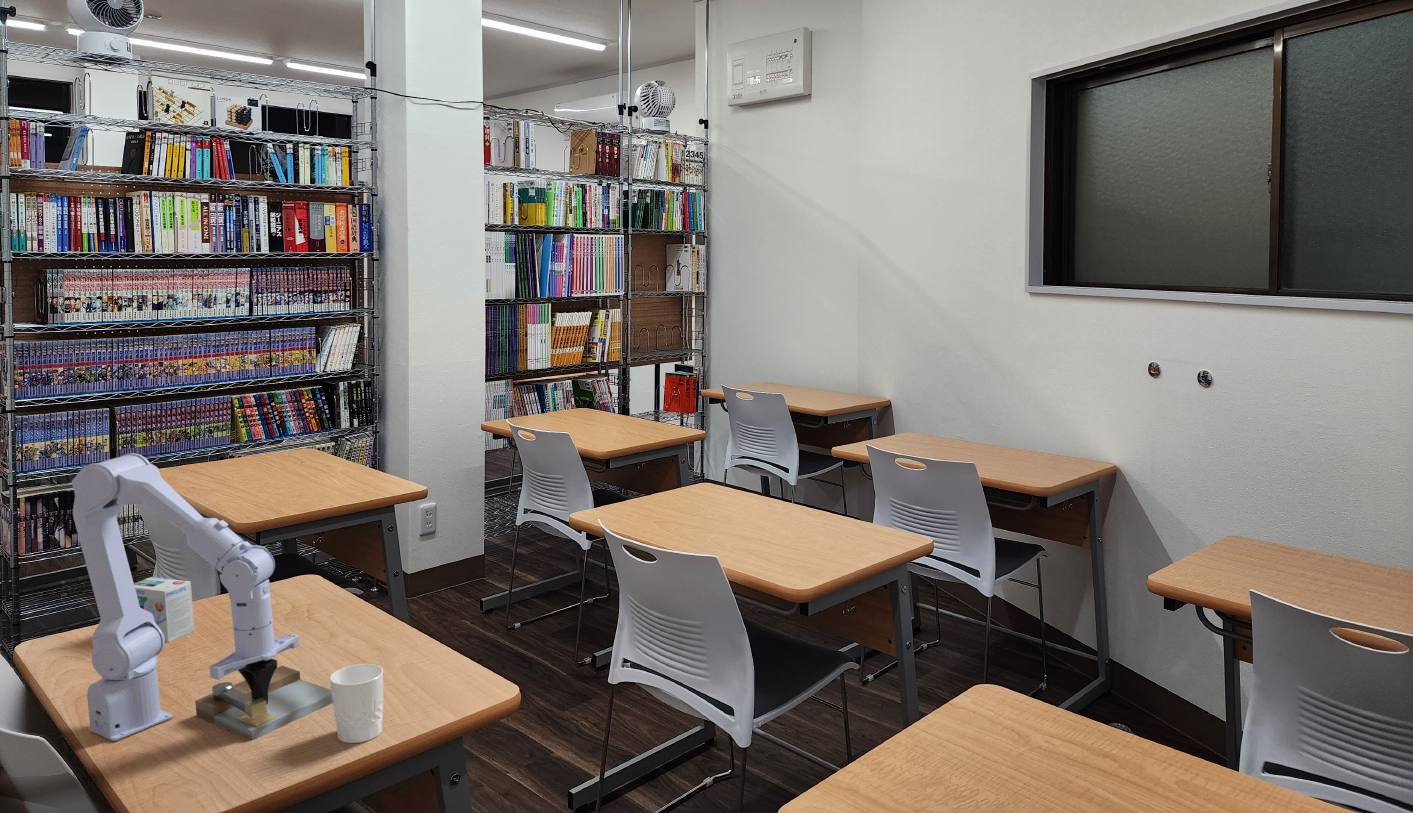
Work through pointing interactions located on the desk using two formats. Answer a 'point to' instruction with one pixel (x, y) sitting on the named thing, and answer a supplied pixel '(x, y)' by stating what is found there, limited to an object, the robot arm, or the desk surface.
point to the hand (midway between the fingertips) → (260, 704)
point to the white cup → (358, 702)
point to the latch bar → (239, 699)
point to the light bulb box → (167, 605)
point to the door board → (283, 707)
